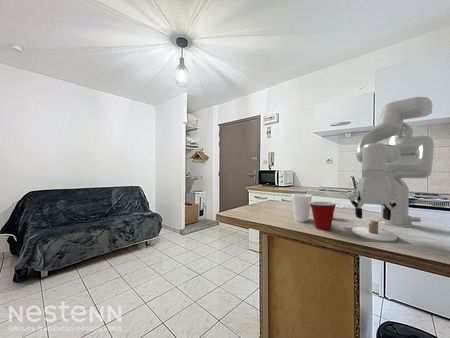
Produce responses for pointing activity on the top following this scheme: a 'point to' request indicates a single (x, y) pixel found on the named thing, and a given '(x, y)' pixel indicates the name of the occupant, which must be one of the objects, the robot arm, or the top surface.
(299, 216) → the foam cup
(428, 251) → the top surface
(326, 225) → the plastic cup
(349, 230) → the mat
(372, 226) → the lid
